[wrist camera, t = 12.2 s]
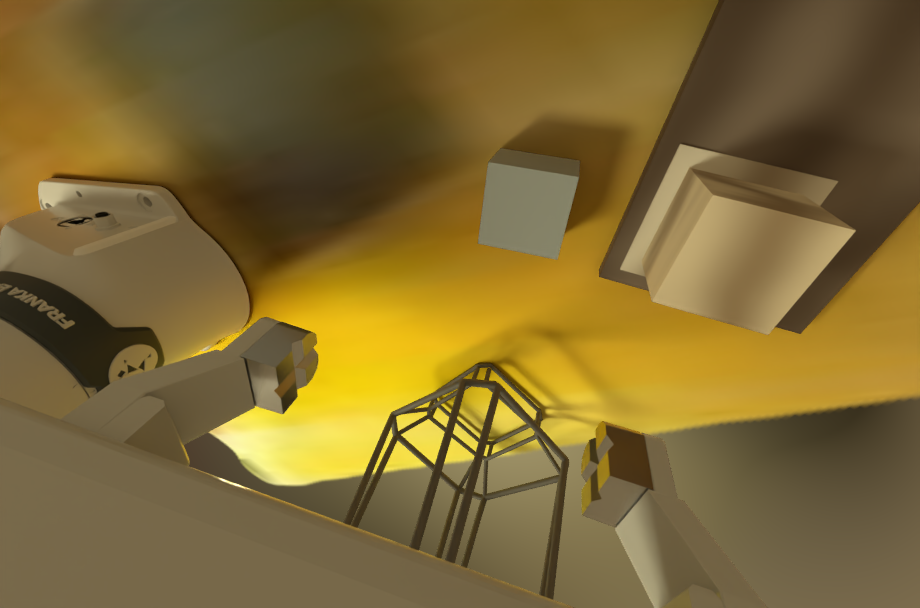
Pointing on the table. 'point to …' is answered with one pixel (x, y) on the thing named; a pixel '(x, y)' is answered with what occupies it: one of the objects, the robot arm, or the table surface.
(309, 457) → the table surface
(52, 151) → the table surface
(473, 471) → the geometric lantern
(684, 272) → the block
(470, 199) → the table surface
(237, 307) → the robot arm
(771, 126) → the board
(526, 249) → the top block
